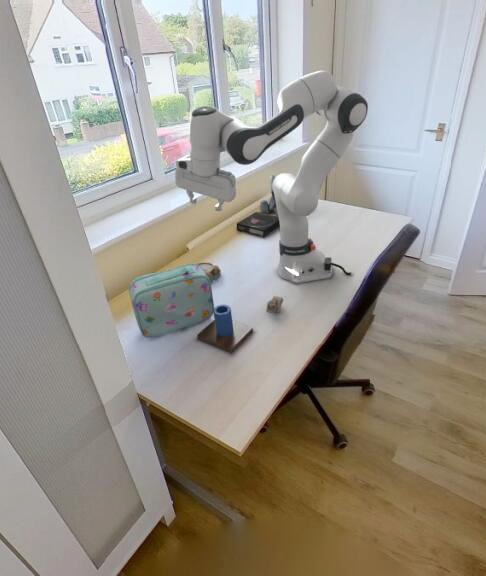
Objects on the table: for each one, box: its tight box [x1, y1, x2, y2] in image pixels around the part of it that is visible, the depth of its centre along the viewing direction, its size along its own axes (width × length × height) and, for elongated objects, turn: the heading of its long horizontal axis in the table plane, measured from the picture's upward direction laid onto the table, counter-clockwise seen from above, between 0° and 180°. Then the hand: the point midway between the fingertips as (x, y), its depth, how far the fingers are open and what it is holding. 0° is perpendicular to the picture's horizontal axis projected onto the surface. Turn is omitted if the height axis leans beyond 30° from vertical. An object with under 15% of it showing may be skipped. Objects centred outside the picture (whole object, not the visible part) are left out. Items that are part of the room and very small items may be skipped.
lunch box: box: [128, 263, 215, 339], centre depth 131 cm, size 27×10×21 cm, turn 117°
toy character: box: [265, 295, 284, 314], centre depth 140 cm, size 4×8×6 cm, turn 154°
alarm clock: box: [196, 261, 222, 283], centre depth 161 cm, size 11×5×15 cm
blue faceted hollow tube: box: [213, 304, 233, 337], centre depth 127 cm, size 5×5×9 cm
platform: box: [196, 319, 254, 355], centre depth 128 cm, size 14×12×9 cm
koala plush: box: [259, 174, 278, 217], centre depth 211 cm, size 17×18×20 cm
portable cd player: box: [235, 211, 280, 239], centre depth 198 cm, size 16×17×4 cm
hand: (205, 206), depth 127 cm, fingers open, 8 cm apart
